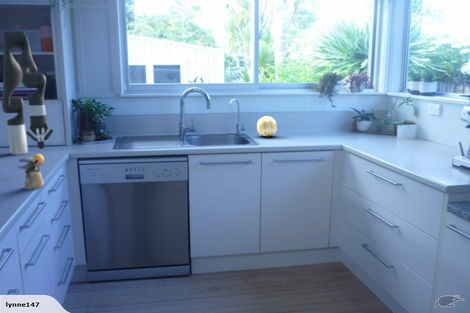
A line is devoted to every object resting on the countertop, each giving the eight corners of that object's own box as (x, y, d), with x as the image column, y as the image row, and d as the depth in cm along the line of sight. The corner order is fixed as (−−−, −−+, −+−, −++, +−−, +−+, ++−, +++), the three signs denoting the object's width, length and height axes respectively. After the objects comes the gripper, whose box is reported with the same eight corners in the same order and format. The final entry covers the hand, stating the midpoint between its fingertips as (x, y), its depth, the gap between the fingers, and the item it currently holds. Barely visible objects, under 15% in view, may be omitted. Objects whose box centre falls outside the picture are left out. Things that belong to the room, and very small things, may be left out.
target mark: (15, 159, 233) (15, 159, 233) (36, 156, 243) (36, 155, 243) (27, 162, 227) (27, 162, 226) (48, 158, 236) (48, 158, 236)
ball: (30, 164, 222) (29, 154, 220) (40, 162, 226) (39, 152, 225) (36, 165, 219) (35, 155, 217) (46, 163, 223) (45, 153, 222)
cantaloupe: (271, 138, 299) (271, 117, 296) (253, 137, 307) (253, 116, 304) (280, 135, 312) (280, 115, 309) (262, 134, 319) (262, 114, 316)
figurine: (29, 184, 183) (26, 157, 180) (46, 184, 183) (43, 157, 181) (22, 189, 176) (19, 161, 173) (39, 189, 176) (36, 161, 174)
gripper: (24, 115, 203) (28, 151, 206) (53, 113, 210) (57, 148, 214) (21, 114, 208) (25, 149, 212) (49, 112, 216) (53, 146, 220)
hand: (41, 148), depth 213 cm, fingers closed
